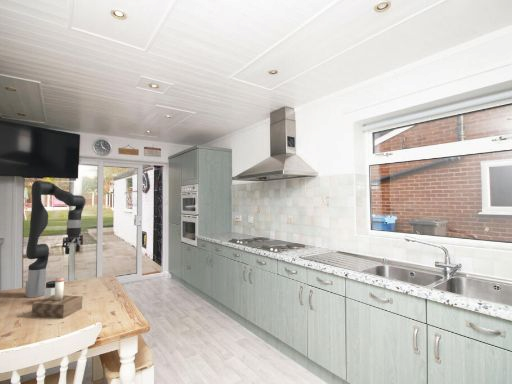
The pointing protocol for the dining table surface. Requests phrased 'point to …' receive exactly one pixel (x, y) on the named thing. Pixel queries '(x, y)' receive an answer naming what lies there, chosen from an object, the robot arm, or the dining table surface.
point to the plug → (59, 289)
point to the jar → (49, 289)
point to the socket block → (56, 307)
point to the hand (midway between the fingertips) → (72, 252)
